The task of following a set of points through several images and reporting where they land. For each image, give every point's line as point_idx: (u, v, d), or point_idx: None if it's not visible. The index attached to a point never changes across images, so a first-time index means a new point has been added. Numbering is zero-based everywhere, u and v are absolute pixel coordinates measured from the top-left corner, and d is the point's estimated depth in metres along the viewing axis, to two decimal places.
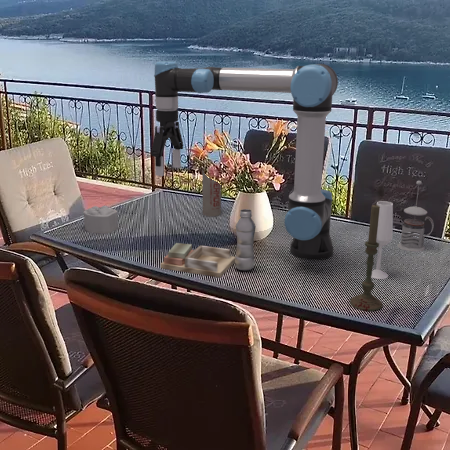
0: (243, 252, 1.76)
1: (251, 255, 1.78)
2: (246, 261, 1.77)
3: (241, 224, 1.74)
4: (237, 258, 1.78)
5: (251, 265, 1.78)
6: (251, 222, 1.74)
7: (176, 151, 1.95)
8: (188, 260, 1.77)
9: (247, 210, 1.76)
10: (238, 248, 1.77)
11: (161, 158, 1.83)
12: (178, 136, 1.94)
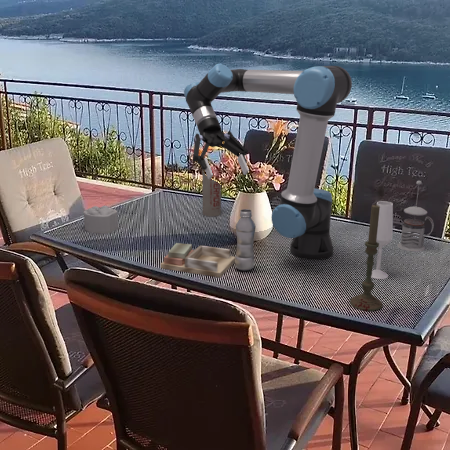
0: (243, 252, 1.76)
1: (251, 255, 1.78)
2: (246, 261, 1.77)
3: (241, 224, 1.74)
4: (237, 258, 1.78)
5: (251, 265, 1.78)
6: (251, 222, 1.74)
7: (239, 157, 1.86)
8: (188, 260, 1.77)
9: (247, 210, 1.76)
10: (238, 248, 1.77)
11: (204, 160, 1.78)
12: (236, 144, 1.87)
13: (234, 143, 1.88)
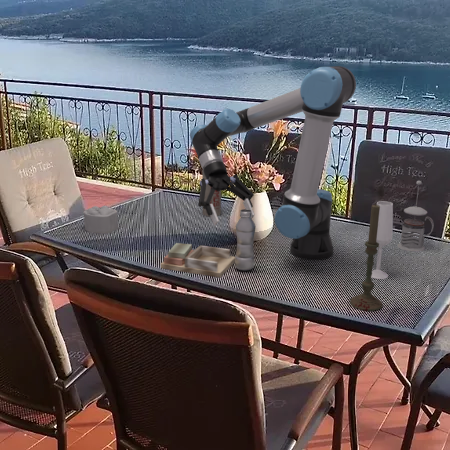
0: (243, 252, 1.76)
1: (251, 255, 1.78)
2: (246, 261, 1.77)
3: (241, 224, 1.74)
4: (237, 258, 1.78)
5: (251, 265, 1.78)
6: (251, 222, 1.74)
7: (245, 202, 1.86)
8: (188, 260, 1.77)
9: (247, 210, 1.76)
10: (238, 248, 1.77)
11: (210, 205, 1.79)
12: (242, 187, 1.87)
13: (240, 186, 1.88)
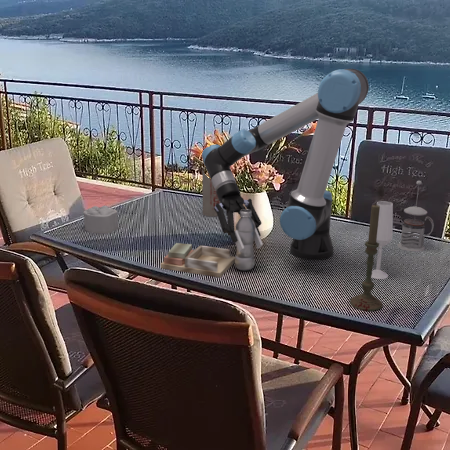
0: (243, 252, 1.76)
1: (251, 255, 1.78)
2: (246, 261, 1.77)
3: (241, 224, 1.74)
4: (237, 258, 1.78)
5: (251, 265, 1.78)
6: (251, 222, 1.74)
7: None
8: (188, 260, 1.77)
9: (247, 210, 1.76)
10: None
11: (235, 232, 1.75)
12: (252, 213, 1.82)
13: None
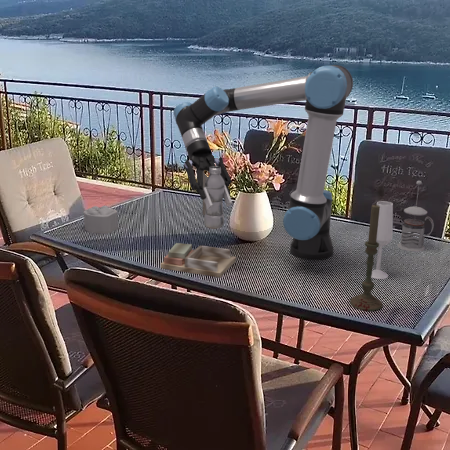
0: (212, 209, 1.74)
1: (220, 213, 1.75)
2: (215, 219, 1.74)
3: (209, 181, 1.71)
4: (206, 216, 1.75)
5: (220, 223, 1.75)
6: (220, 179, 1.72)
7: None
8: (188, 260, 1.77)
9: (216, 167, 1.74)
10: None
11: (204, 189, 1.72)
12: (223, 171, 1.79)
13: (221, 170, 1.79)
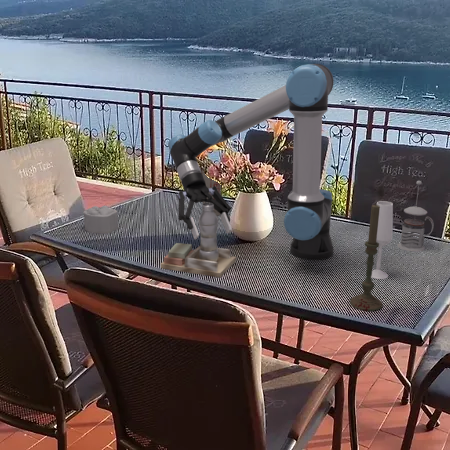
0: (206, 245, 1.77)
1: (214, 248, 1.79)
2: (210, 254, 1.78)
3: (203, 218, 1.75)
4: (201, 252, 1.79)
5: (215, 258, 1.79)
6: (213, 215, 1.75)
7: (222, 215, 1.81)
8: (188, 260, 1.77)
9: (209, 204, 1.77)
10: (201, 242, 1.78)
11: (190, 219, 1.75)
12: (220, 200, 1.83)
13: (218, 199, 1.84)
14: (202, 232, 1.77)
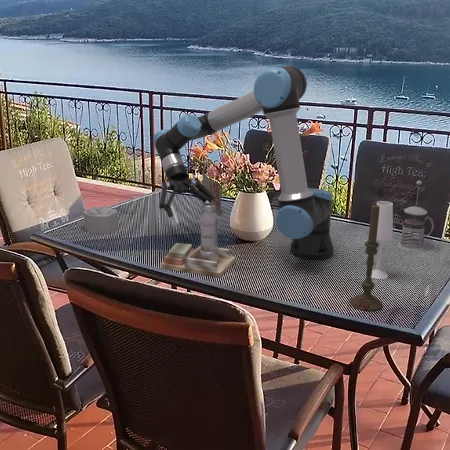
0: (207, 245, 1.77)
1: (215, 248, 1.79)
2: (210, 254, 1.78)
3: (204, 218, 1.75)
4: (201, 251, 1.79)
5: (215, 258, 1.79)
6: (214, 216, 1.76)
7: None
8: (188, 260, 1.77)
9: (211, 204, 1.77)
10: (202, 242, 1.78)
11: (170, 207, 1.85)
12: (203, 190, 1.94)
13: (201, 189, 1.95)
14: (203, 232, 1.77)
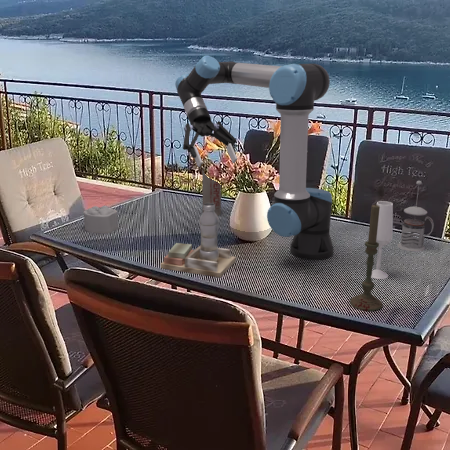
0: (207, 245, 1.77)
1: (215, 248, 1.79)
2: (210, 254, 1.78)
3: (204, 218, 1.75)
4: (201, 251, 1.79)
5: (215, 258, 1.79)
6: (214, 216, 1.76)
7: (228, 146, 1.93)
8: (188, 260, 1.77)
9: (210, 204, 1.77)
10: (202, 242, 1.78)
11: (194, 148, 1.86)
12: (225, 133, 1.95)
13: (223, 133, 1.95)
14: (203, 232, 1.77)
